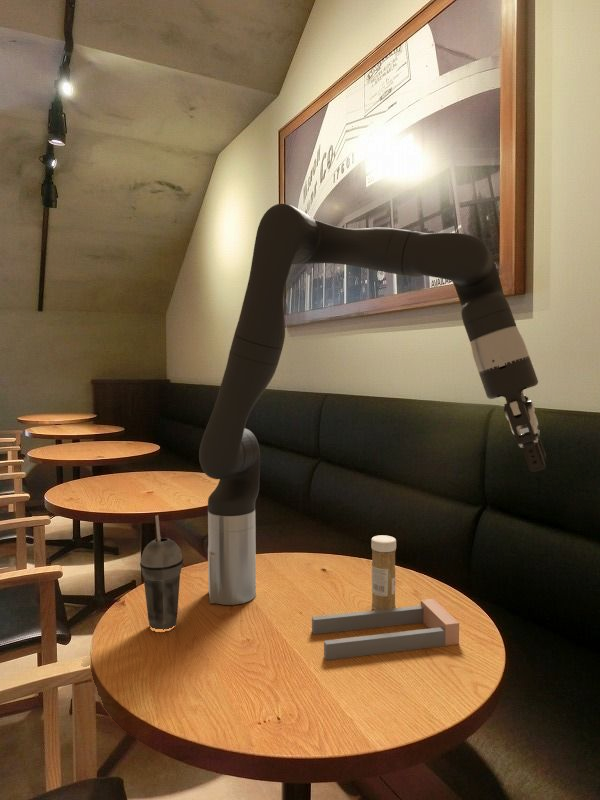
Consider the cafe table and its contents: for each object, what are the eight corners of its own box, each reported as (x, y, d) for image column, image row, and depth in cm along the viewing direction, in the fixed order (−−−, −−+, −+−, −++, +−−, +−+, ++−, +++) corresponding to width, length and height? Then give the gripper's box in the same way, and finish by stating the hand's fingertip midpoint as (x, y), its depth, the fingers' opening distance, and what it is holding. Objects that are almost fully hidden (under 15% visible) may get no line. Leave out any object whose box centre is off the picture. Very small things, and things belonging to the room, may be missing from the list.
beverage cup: (192, 620, 96) (190, 510, 95) (169, 639, 89) (167, 521, 88) (157, 614, 98) (155, 506, 97) (132, 633, 91) (129, 517, 90)
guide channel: (326, 660, 82) (326, 638, 82) (311, 631, 92) (311, 611, 91) (458, 643, 87) (459, 623, 87) (432, 617, 96) (433, 598, 96)
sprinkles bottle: (400, 610, 99) (401, 539, 99) (382, 616, 97) (382, 543, 96) (384, 601, 103) (384, 532, 102) (366, 607, 101) (366, 537, 100)
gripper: (483, 370, 89) (516, 464, 87) (472, 370, 76) (510, 480, 75) (530, 355, 86) (564, 452, 84) (526, 352, 73) (567, 467, 71)
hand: (539, 465), depth 79 cm, fingers open, 8 cm apart
